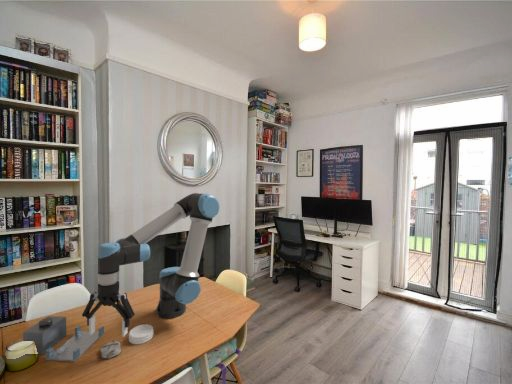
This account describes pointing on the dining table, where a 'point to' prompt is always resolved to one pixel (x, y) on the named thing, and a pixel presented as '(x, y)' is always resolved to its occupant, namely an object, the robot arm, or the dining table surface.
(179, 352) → the dining table surface
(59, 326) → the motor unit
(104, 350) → the stone
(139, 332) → the coaster
